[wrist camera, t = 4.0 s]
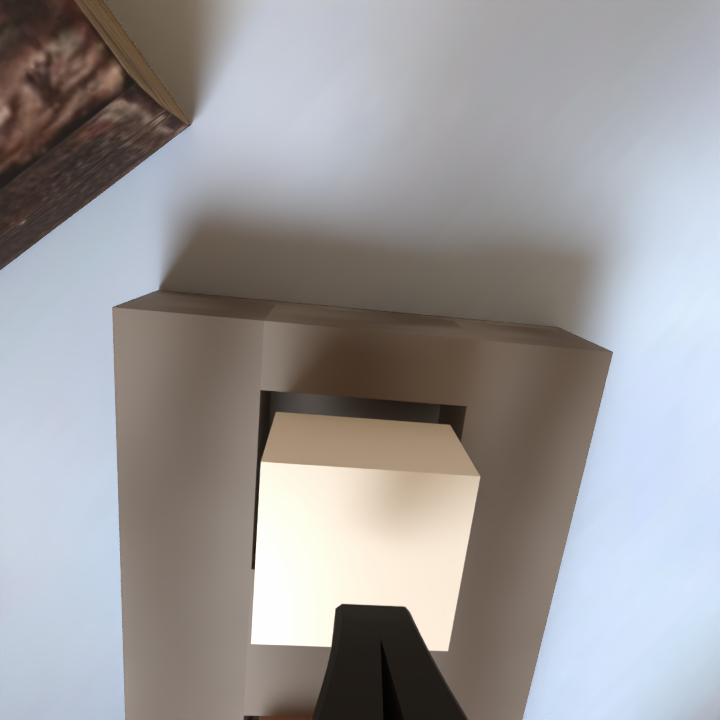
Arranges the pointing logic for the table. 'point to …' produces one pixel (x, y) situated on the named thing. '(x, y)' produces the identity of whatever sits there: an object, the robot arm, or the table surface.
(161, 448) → the key bed
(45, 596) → the table surface
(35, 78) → the hardback book
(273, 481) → the cream key
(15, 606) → the table surface
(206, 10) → the table surface
